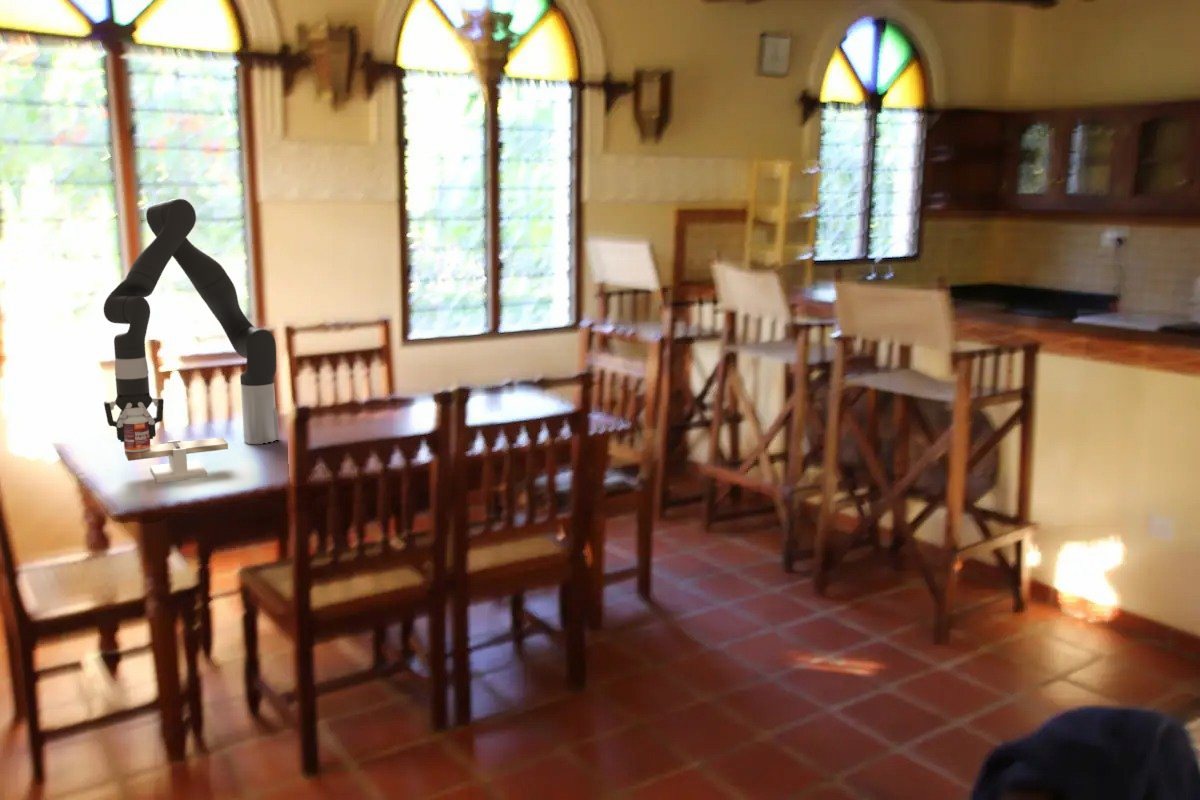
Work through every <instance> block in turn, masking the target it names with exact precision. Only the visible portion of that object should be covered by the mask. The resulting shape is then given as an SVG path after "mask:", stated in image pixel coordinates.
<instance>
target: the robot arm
mask: <svg viewBox="0 0 1200 800" xmlns="http://www.w3.org/2000/svg"><path fill="white" fill-rule="evenodd" d="M145 215H146V221H147V224H148V227H149V228H150V230H151V231H152V233H153V234H154V235H155V238H154V239H153V240H152V242H150V244H149V245H147V246H146V247H145V249H144V250H143V251H142V252H141V253H140V254H139V255H138V256H137V257H136V259H135V260H134V262H133V263H132V265H131V267H130V269H129V271H128V273H127V275H126V277H125V279H124V280H122V281H121V282H120V283H119V284H118V285H117V286H116V287H115V288H114V289H113V290H112V292H110V294H109V295H108V296H107V298H106V299H105V300H104V301H105V302H104V304H103V314H104V317H105V319H106V320H107V321H108V322H110V323H113V324H120V325H121V324H125V325H129V327H128V330H127V332H122V333H118V334H117V335H115V336H114V337H113V338H114V339H113V347H114V348H113V349H114V357H115V359H114V372H115V373H114V374H115V386H116V387H115V388H116V389H115V390H116V397H115V398H116V399H115V400H111V401H107V400H106V401H104V402H103V406H104V411H105V416H106V421H107V424H108V426H110V427H115V428H116V438H117V439H118V441H120V443H124V434H123V427H122V425H123V422H124V420H125V419H126V417H127V412H126V411H127V409H131V408H135V407H139V408H143V411H144V415H145V417H146V418H148V421H149V433H150V440H153V439H154V437H156V434H157V433H156V424H158V423H160V422H163V418H164V417H163V416H164V402H165V401H164V399H163V397H161V396H158V397H152V396H151V395H150V381H149V379H150V378H149V367H148V362H147V361H148V360H147V357H146V354H147V353H146V336H147V330H148V326H149V322H150V317H151V308H150V304H149V302H148V301H147V299H146V297H147V298H148V297H149V296H150V295H152V293H153V292H154V290H155V288H156V286H157V284H158V282H159V280H160V279H161V275H162V274H163V272H164V271H165V269H166V266H167V265H168V263H169V261H171V259H172V257H173V258H174V259H175V261H176V262H177V264H178V265H179V266H180V268H181V269H182V270H183V272H184V274H185V275H186V276H187V278H188V279H189V281H190V283H191V285H192V286H193V287H194V288H195V290H196V292H197V293H198V295H199V296H200V298H201V299H202V300H203V302H204V303H205V304H206V305H207V307H208V308H209V310H210V311H211V313H212V314H213V316H214V317H215V318H216V320H217V321H218V323H219V324H220V326H221V327H222V329H223V331H224V333H225V335H226V337H227V338H228V341H229V342H230V344H231V346H232V347H233V350H234V351H235V352H236V353H237V354H238V355H239V356H240V357H241V358H245V359H246V370H244V372H242V373H241V374H240V375H239V376H240V377H239V380H240V393H241V395H240V396H241V409H242V411H241V412H242V424H243V425H242V426H243V441H244V443H246V444H248V445H249V444H250V445H264V444H263V443H266V444H269V443H268V442H271V443H273V442H272V441H274V440H279V441H280V431H279V417H278V416H279V414H278V412H279V411H278V409H277V407H276V394H275V393H276V392H275V376H276V374H277V373H276V372H277V343H276V339H275V337H274V334H273V333H272V332H271V331H269V330H267V329H264V328H260V327H255V326H254V325H253V324H252V323H251V322H250V320H249V319H248V318H247V316H246V315H245V314H244V312H243V311H242V309H241V306H240V303H239V299H238V294H237V289H236V286H235V284H234V283H233V281H232V280H231V278H230V276H229V275H228V273H227V272H226V270H225V269H224V267H223V266H222V265H221V264H220V263H219V262H218V261H216V260H215V259H214V258H212V257H211V256H210V255H208V254H206V253H205V252H203V251H201V250H200V249H199V248H198V247H196V246H195V245H194V244H193V243H192V242H191V241H190V240H189V239H188V238H187V237H188V235H189V234H190V233H191V231H192V230H193V229H194V227H195V224H196V222H197V214H196V211H195V208H194V206H193V205H192V203H190V202H189V201H188V200H186V199H184V198H173V199H169V200H165V201H160V202H156V203H154V204H153V203H152V205H150V206H148V208H147V210H146V213H145ZM152 403H153V405H154V407H156V413H155V414H156V415H155V417H152V415H151V414H150V412H149V411H148V408H149V407H150V406H151V405H152ZM115 406H117V407H118V408H119V409H120V412H119V415H118V417H117V420H114V418H113V413H112V411H114V409H115ZM124 414H125V415H124Z"/></svg>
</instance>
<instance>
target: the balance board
mask: <svg viewBox="0 0 1200 800" xmlns="http://www.w3.org/2000/svg"><path fill="white" fill-rule="evenodd" d="M150 446H151V448H150V449H149V450H147V451H144V452H137V453H131V452H127V451H125V450H124V454H125V457H126V459H127V461H128V462H130V461H140V460H147V459H155V458H165V457H169V456H173V449H180V448H186V455H188V454H189V455H190V454H198V453H206V452H215V451H221V450H222V451H223V450H229V442H227V440H226V439H225V438H223V437H214V438H213V437H212V438H204V439H203V438H202V439H196V440H186V441H180V442H173V443H168V442H167V443H159V444H152V445H151V444H150Z"/></svg>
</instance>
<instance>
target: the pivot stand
mask: <svg viewBox="0 0 1200 800" xmlns="http://www.w3.org/2000/svg"><path fill="white" fill-rule="evenodd" d="M173 442H181V439H175V440H167V443H173ZM187 460H188V457H187V454H186V448H180V449H173V456H168V462H169V463H164V464H153V465H150V466H149V467H150V468H149V469H150V471H151V473H152V475H153V478H154V479H155V481H156V482H157V483H165V482H166V483H167V482H174V481H181V480H182V481H183V480H190V479H189V478H191V479H199V477H200V478H205V477H208V476H209V475H208V472H207V470H206V469H205V467H204V466H203V464H202V463H201V462H200V460H199V459H196V460H189V461H187Z"/></svg>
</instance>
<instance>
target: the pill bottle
mask: <svg viewBox="0 0 1200 800" xmlns="http://www.w3.org/2000/svg"><path fill="white" fill-rule="evenodd" d="M126 412H127V417H126V419H125V420H124V422H123V425H122V427H123V434H124V442H123V448H124V452H125V451H127V452H131V453H137V452H144V451H147V450H149V449H150V448H151V446H150V445H151V439H150V433H149V421H148V418H146V417H145V415H144V411H143V408H139V407H135V408H131V409H127V411H126ZM124 415H125V414H124Z"/></svg>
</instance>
